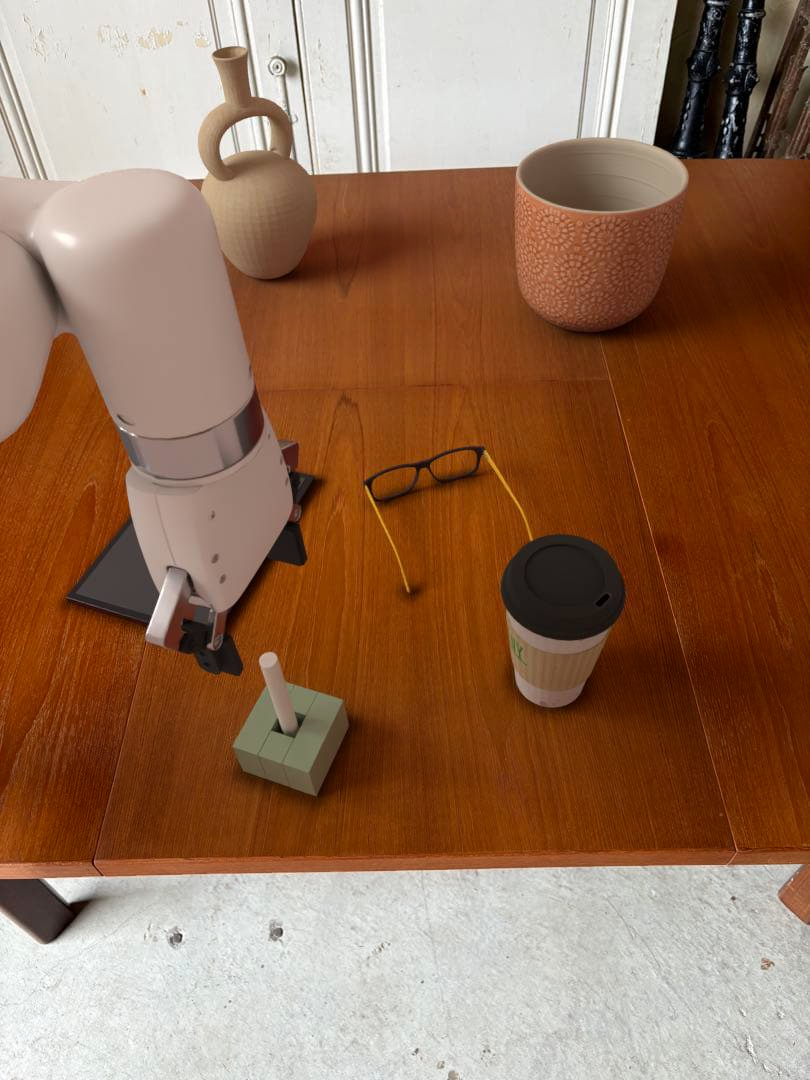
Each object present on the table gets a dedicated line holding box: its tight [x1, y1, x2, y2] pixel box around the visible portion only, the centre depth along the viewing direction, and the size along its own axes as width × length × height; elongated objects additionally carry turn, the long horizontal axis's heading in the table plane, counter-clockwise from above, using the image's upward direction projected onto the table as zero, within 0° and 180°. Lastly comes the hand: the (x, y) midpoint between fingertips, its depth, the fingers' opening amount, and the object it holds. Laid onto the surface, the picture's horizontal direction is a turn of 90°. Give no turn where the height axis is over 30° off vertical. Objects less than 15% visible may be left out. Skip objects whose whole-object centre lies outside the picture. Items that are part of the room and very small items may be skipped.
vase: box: [197, 45, 318, 280], centre depth 114 cm, size 17×17×30 cm
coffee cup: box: [500, 533, 627, 709], centre depth 69 cm, size 10×10×15 cm
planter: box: [514, 136, 690, 333], centre depth 107 cm, size 21×21×19 cm
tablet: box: [65, 471, 317, 628], centre depth 88 cm, size 17×24×1 cm
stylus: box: [258, 651, 299, 739], centre depth 66 cm, size 1×1×14 cm
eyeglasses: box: [362, 445, 534, 593], centre depth 86 cm, size 14×14×4 cm
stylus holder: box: [231, 681, 350, 797], centre depth 69 cm, size 7×7×4 cm
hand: (256, 610), depth 56 cm, fingers open, 9 cm apart
